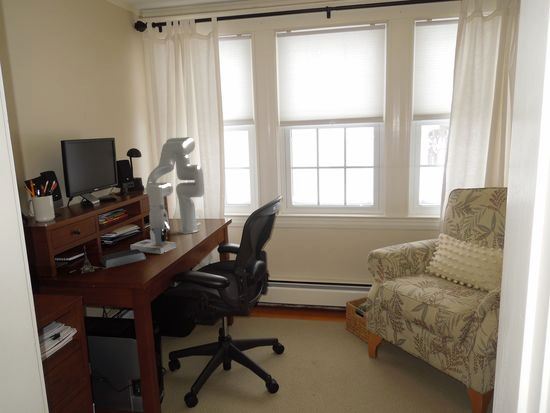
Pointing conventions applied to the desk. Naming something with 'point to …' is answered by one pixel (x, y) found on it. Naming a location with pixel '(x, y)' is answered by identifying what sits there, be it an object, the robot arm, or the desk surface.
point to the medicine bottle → (154, 235)
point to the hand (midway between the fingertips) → (160, 240)
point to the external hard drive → (122, 258)
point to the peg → (159, 237)
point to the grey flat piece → (153, 246)
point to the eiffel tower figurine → (87, 266)
